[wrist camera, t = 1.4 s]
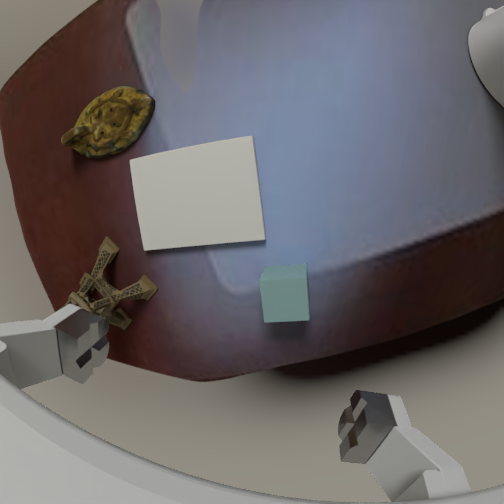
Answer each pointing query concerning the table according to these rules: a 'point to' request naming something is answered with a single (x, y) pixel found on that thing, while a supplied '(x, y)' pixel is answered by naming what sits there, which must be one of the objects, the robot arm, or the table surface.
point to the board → (199, 195)
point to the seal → (110, 122)
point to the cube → (285, 293)
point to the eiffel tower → (109, 290)
